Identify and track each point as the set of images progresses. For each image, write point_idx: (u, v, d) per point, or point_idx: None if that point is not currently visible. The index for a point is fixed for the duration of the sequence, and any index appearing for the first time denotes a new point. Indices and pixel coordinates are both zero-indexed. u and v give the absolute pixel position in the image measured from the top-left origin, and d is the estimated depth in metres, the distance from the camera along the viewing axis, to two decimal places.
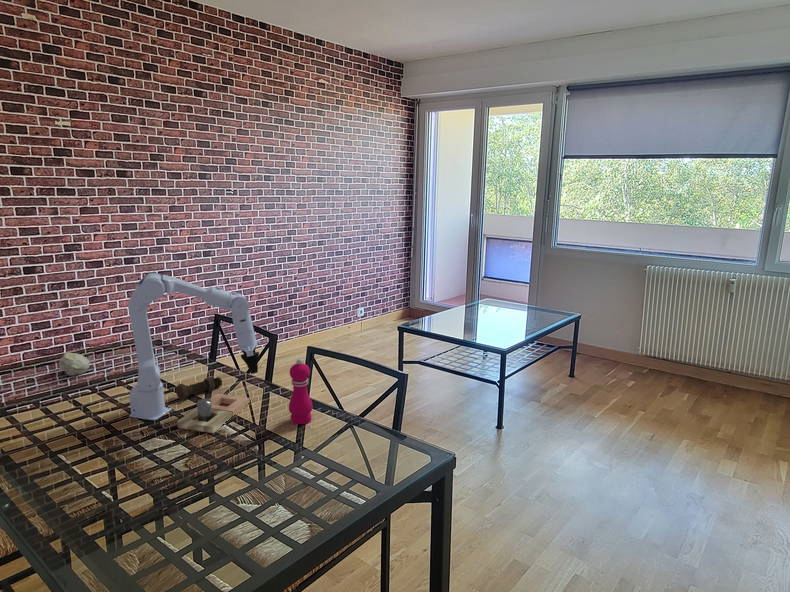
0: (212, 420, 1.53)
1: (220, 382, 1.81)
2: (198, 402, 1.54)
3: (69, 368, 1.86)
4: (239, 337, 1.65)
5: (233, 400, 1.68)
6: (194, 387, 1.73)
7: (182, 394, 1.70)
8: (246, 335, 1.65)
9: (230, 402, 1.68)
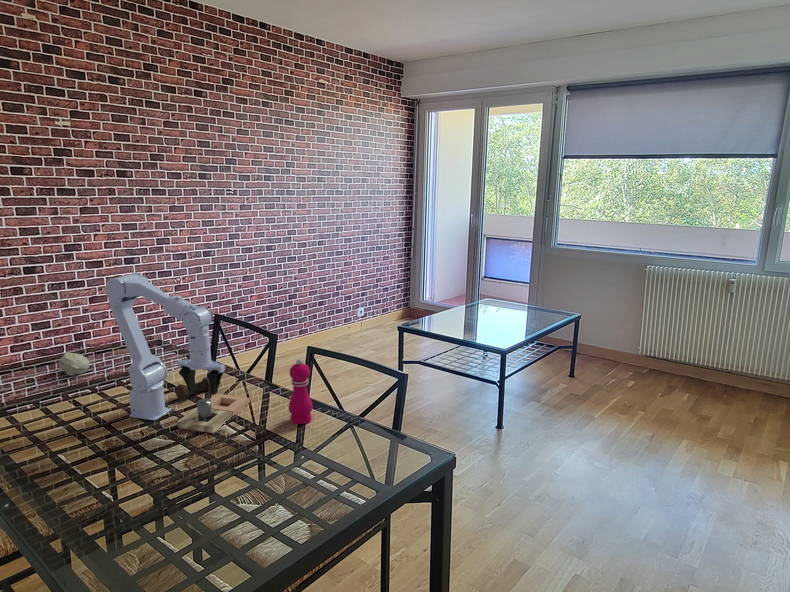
0: (212, 420, 1.53)
1: None
2: (198, 402, 1.54)
3: (69, 368, 1.86)
4: None
5: (233, 400, 1.68)
6: None
7: (182, 395, 1.70)
8: None
9: (230, 402, 1.68)
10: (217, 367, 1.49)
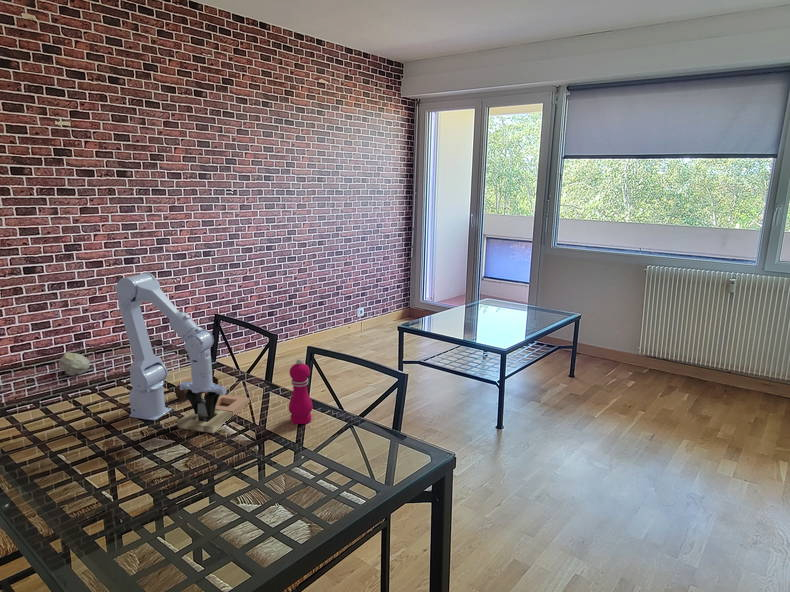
0: (212, 420, 1.53)
1: (216, 381, 1.82)
2: (198, 402, 1.54)
3: (69, 368, 1.86)
4: None
5: (233, 400, 1.68)
6: None
7: (182, 395, 1.70)
8: None
9: (230, 402, 1.68)
10: (219, 390, 1.51)
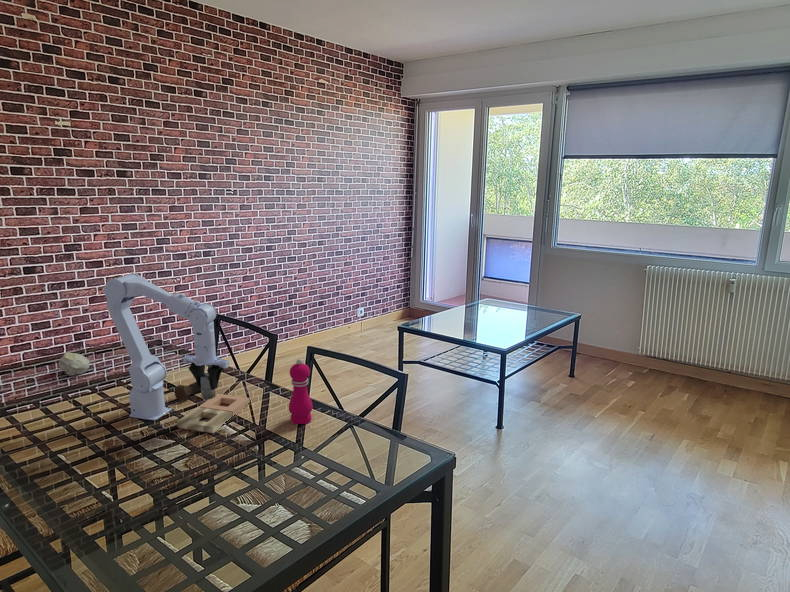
0: (212, 420, 1.53)
1: None
2: (201, 376, 1.54)
3: (69, 368, 1.86)
4: None
5: (233, 400, 1.68)
6: (193, 387, 1.74)
7: (183, 395, 1.70)
8: None
9: (230, 402, 1.68)
10: (222, 363, 1.51)
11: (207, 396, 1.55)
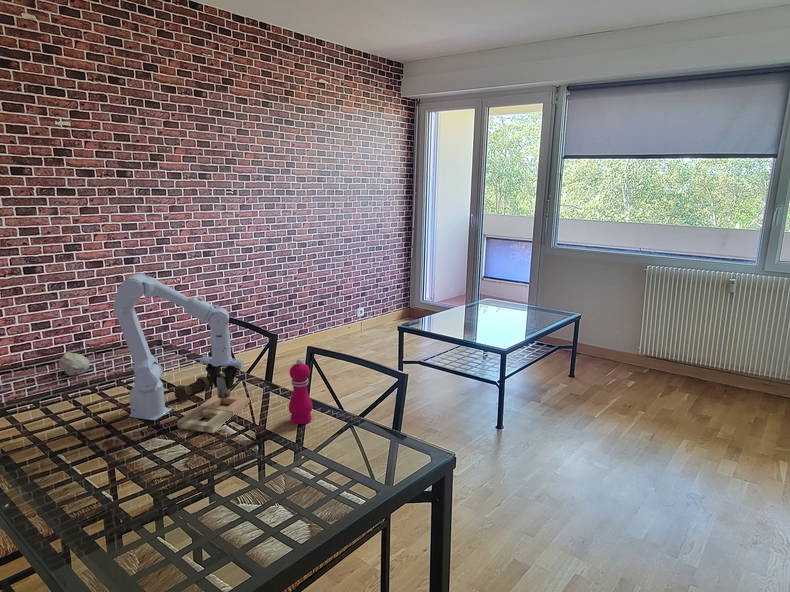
0: (212, 420, 1.53)
1: None
2: (217, 376, 1.62)
3: (69, 368, 1.86)
4: None
5: (233, 400, 1.68)
6: (193, 387, 1.74)
7: (183, 395, 1.70)
8: None
9: (230, 402, 1.68)
10: (237, 363, 1.60)
11: (223, 395, 1.63)
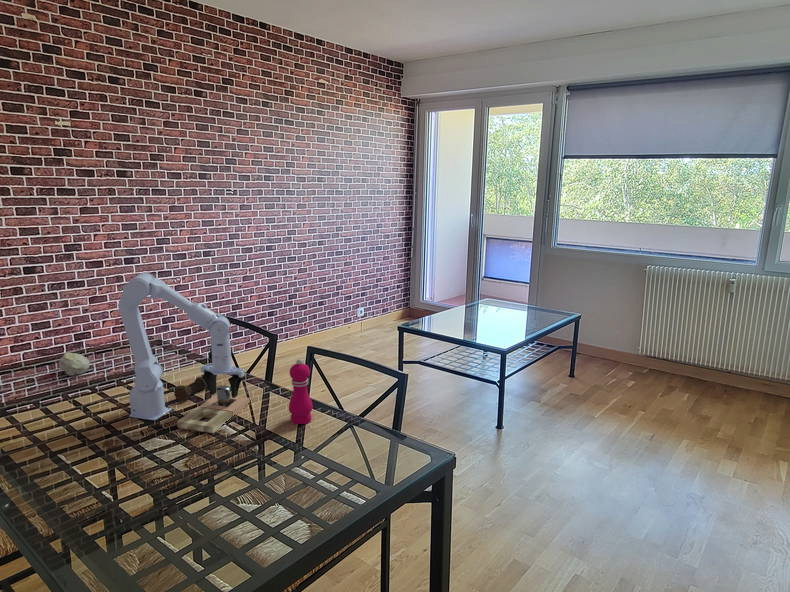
0: (212, 420, 1.53)
1: None
2: (218, 388, 1.63)
3: (69, 368, 1.86)
4: None
5: (233, 400, 1.68)
6: (192, 387, 1.74)
7: (184, 395, 1.70)
8: None
9: None
10: (238, 372, 1.60)
11: None
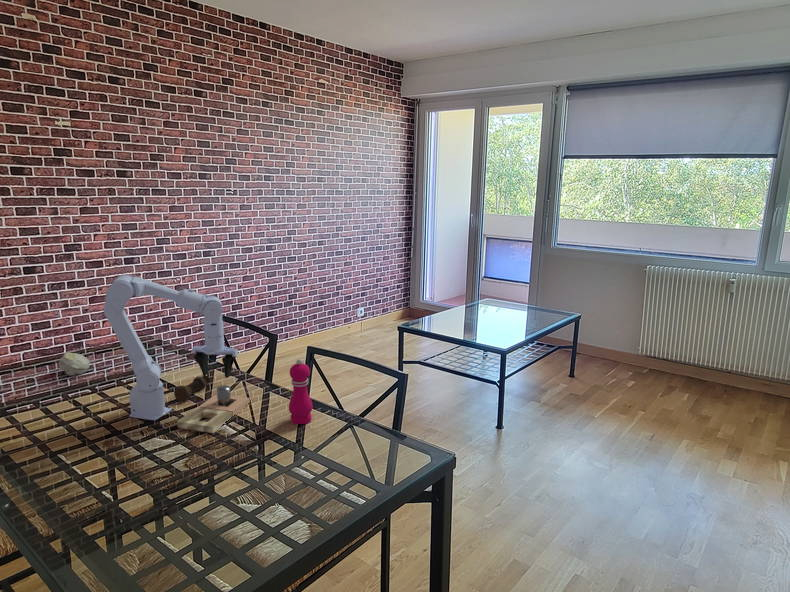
0: (212, 420, 1.53)
1: (209, 379, 1.83)
2: (218, 388, 1.63)
3: (69, 368, 1.86)
4: None
5: (233, 400, 1.68)
6: (192, 387, 1.74)
7: (185, 395, 1.69)
8: None
9: None
10: (231, 351, 1.61)
11: None
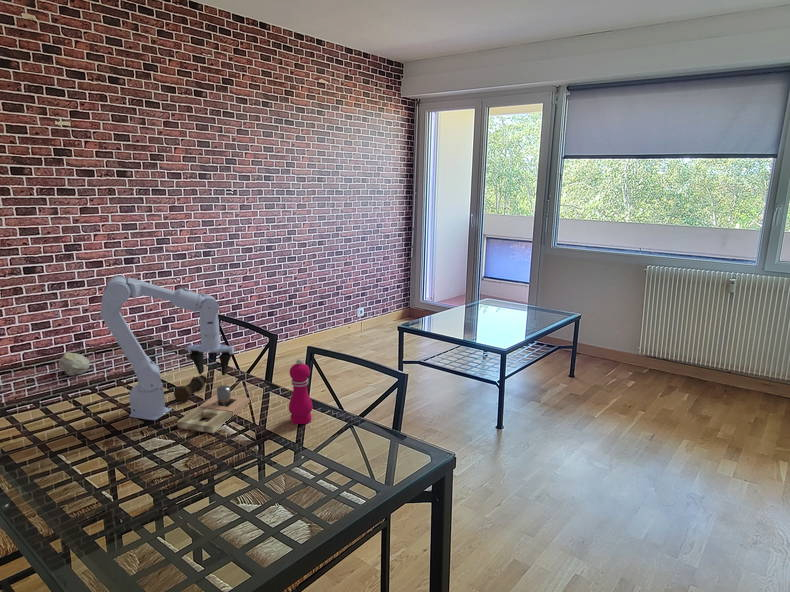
0: (212, 420, 1.53)
1: (206, 379, 1.83)
2: (218, 388, 1.63)
3: (69, 368, 1.86)
4: None
5: (233, 400, 1.68)
6: (191, 387, 1.74)
7: (185, 395, 1.69)
8: None
9: None
10: (228, 349, 1.63)
11: None
